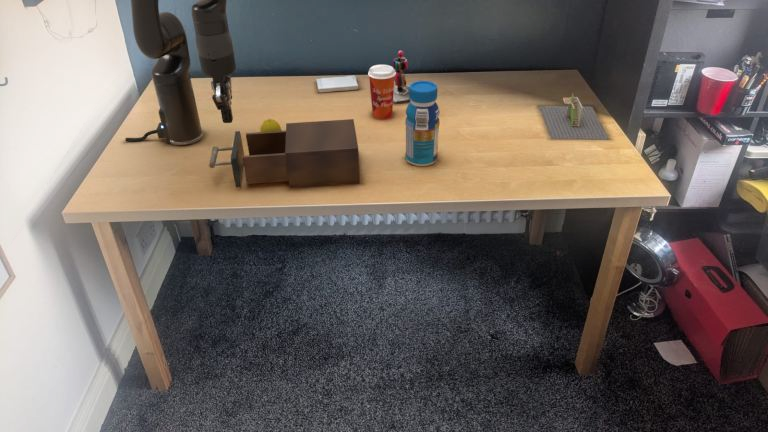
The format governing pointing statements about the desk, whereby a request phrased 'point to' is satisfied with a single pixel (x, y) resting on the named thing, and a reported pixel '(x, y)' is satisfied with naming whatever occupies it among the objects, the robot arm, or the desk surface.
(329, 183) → the cabinet
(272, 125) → the lemon
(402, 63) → the statue
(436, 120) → the beverage bottle
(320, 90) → the hard drive
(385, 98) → the paper cup
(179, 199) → the desk surface
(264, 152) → the drawer
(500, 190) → the desk surface
